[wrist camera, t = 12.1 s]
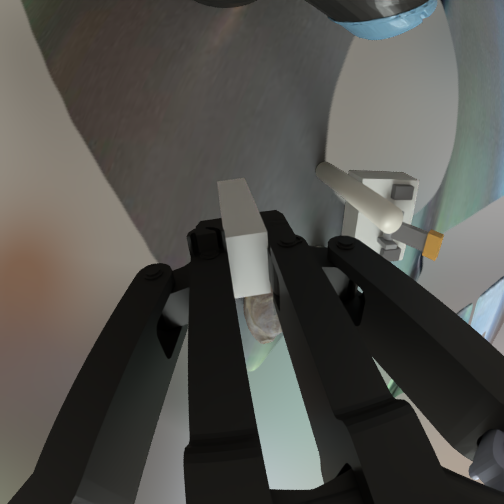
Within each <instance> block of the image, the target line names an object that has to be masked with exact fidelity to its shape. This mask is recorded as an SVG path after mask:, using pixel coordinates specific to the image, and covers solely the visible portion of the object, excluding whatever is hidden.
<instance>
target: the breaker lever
mask: <svg viewBox="0 0 504 504" xmlns="http://www.w3.org/2000/svg"><path fill="white" fill-rule="evenodd" d="M443 237H444V235H443V234H441V233H439V232H436V231H434V230H430V232H427V231H425V230H422V229H420V228H417V227H415V226H412V225H410V224H407V223H405V222H402V224H401V226H400V228H399V229H398V230H397V231H395V232H394V233H391V234H386V233H383V238H384V239H386V240H390V241H391V240H393V239H395V240H397V241H399V242H402V243H404V244H406V245H409V246H411V247H413V248H416V249H418V250H420V251H422V252H423V254H422V255H423V256H425V257H427V258H429V259H432V260H434V261H435V260H436V258H437V257H438V254H439V250H440V247H441V244H442V240H443Z"/></svg>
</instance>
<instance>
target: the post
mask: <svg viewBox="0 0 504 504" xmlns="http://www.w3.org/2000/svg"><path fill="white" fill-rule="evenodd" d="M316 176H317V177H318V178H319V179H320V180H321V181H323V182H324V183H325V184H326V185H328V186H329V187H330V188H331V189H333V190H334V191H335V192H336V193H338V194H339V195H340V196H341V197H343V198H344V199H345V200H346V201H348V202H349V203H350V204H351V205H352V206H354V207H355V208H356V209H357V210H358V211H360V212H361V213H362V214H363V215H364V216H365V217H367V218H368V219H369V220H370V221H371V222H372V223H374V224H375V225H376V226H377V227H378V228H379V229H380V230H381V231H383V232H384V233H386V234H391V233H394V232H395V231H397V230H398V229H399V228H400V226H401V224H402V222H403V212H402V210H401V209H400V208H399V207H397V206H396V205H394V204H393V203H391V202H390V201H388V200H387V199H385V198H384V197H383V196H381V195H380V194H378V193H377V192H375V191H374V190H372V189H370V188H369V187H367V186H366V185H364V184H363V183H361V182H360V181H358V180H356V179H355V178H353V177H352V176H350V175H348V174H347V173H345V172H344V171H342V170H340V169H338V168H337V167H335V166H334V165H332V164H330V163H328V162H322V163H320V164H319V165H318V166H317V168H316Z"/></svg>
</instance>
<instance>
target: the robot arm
mask: <svg viewBox="0 0 504 504" xmlns="http://www.w3.org/2000/svg"><path fill="white" fill-rule="evenodd" d="M194 1H196V2H198V3H201V4H204V5H207V6H212V7H220V8H230V7H238V6H243V5H247V4H250V3H252V2H254V1H257V0H194ZM305 1H306V2H308V3H310V4H311V5H313V6H314V7H316V8H317V9H318V10H320V11H321V12H323V13H324V14H326V15H327V16H328V18H329V19H330V20H331V21H333V22H335V23H337V24H340V25H341V26H343V27H344V28H345V29H347V30H348V31H350V32H351V33H352V34H354V35H355V36H357V37H359V38H365V39H368V40H381V39H386V38H390V37H394V36H396V35H399V34H402V33H404V32H406V31H409V30H410V29H412V28H414V27H416V26H417V25H419V24H420V23H422V19H423V18H426V17H429V16H430V15H431V14H432V13H433V12H434V10H435V8H436V6H437V0H305ZM217 184H218V193H219V201H220V209H221V217H222V218H219V219H212V220H205V221H200V222H199V224H198V225H197V226H196V229H193V230H192V231H190V232H189V233H188V235H187V241H188V246H189V251H190V255H191V262H190V263H189V264H187V265H185V266H184V267H181V268H179V269H176V270H173V271H172V269H171V267H170V266H169V265H167V264H162V263H157V264H151V265H148V266H146V267H145V268H143V269H141V270H140V271H139V272H138V273H137V275H136V276H135V278H134V279H133V281H132V283H131V284H130V286H129V287H128V289H127V290H126V292H125V294H124V295H123V297H122V299H121V300H120V302H119V303H118V305H117V307H116V308H115V310H114V312H113V313H112V315H111V316H110V318H109V320H108V322H107V323H106V325H105V327H104V328H103V330H102V332H101V334H100V335H99V337H98V339H97V341H96V342H95V344H94V346H93V348H92V349H91V352H90V353H89V355H88V357H87V358H86V360H85V362H84V364H83V366H82V368H81V370H80V372H79V373H78V375H77V378H76V379H75V381H74V383H73V385H72V387H71V389H70V391H69V393H68V395H67V397H66V399H65V401H64V403H63V405H62V407H61V409H60V411H59V414H58V416H57V418H56V420H55V422H54V425H53V427H52V429H51V431H50V433H49V436H48V438H47V440H46V443H45V445H44V447H43V450H42V452H41V455H40V457H39V460H38V462H37V465H36V467H35V470H34V472H33V474H32V475H31V476H30V477H29V479H28V480H27V481H26V482H25V483H24V485H23V486H22V487H21V488H20V489H19V491H18V492H17V493H16V494H15V495H14V496H13V498H12V499H11V500H10V501H9V502H8V504H134V503H135V499H136V495H137V492H138V487H139V484H140V481H141V477H142V473H143V470H144V466H145V463H146V459H147V456H148V452H149V449H150V446H151V442H152V439H153V435H154V432H155V429H156V425H157V422H158V419H159V415H160V412H161V409H162V406H163V403H164V400H165V396H166V393H167V390H168V387H169V384H170V381H171V378H172V374H173V371H174V368H175V365H176V362H177V359H178V356H179V353H180V350H181V347H182V344H183V341H184V338H185V335H186V332H187V329H188V395H189V397H188V400H189V431H190V441H189V444H188V445H187V447H185V451H184V480H185V493H186V504H504V356H503V355H502V354H501V353H500V352H499V351H497V349H496V348H494V347H493V346H492V345H491V344H490V343H489V342H488V341H487V340H486V339H485V338H483V337H482V336H481V335H480V334H479V333H478V332H477V331H476V330H474V329H473V328H472V327H471V326H470V325H469V324H467V323H466V322H465V321H464V320H463V319H462V318H460V317H459V316H458V315H457V314H456V313H454V312H453V311H452V310H451V309H449V308H448V307H447V306H446V305H444V304H443V303H442V302H441V301H440V300H438V299H437V298H436V297H435V296H434V295H432V294H431V293H429V292H428V291H427V290H426V289H425V288H423V287H422V286H421V285H419V284H418V283H417V282H416V281H414V280H413V279H412V278H410V277H409V276H408V275H407V274H405V273H404V272H403V271H401V270H400V269H399V268H397V267H396V266H395V265H393V264H392V263H391V262H389V261H388V260H386V259H385V258H384V257H382V256H381V255H380V254H378V253H377V252H375V251H374V250H373V249H371V248H370V247H368V246H367V245H366V244H364V243H363V242H361V241H360V240H358V239H356V238H354V237H350V236H346V235H345V236H344V235H342V236H336V237H334V238H331V239H330V240H329V241H328V248H326V247H312V246H309V245H308V244H307V242H306V240H305V239H304V238H302V237H300V236H298V235H295V234H294V232H293V230H292V229H291V227H290V225H289V224H288V222H287V220H286V218H285V217H284V215H283V214H282V213H280V212H279V211H277V210H272V211H264V212H259V211H258V209H257V206H256V204H255V201H254V199H253V197H252V194H251V192H250V190H249V187H248V185H247V183H246V180H245V178H240V179H232V180H224V181H217ZM270 284H271V285H270ZM358 286H359V287H360V288H361V289H362V291H363V293H361V292H359V291H358V290H357V288H358ZM271 287H272V290H273V309H274V315H278V319H279V322H280V325H281V328H282V332H283V335H284V338H285V341H286V344H287V348H288V351H289V355H290V358H291V361H292V364H293V368H294V371H295V374H296V378H297V381H298V384H299V388H300V391H301V394H302V398H303V401H304V404H305V407H306V411H307V414H308V418H309V421H310V424H311V428H312V431H313V434H314V437H315V441H316V444H317V447H318V451H319V455H320V461H321V472H322V477H323V481H324V484H323V485H321V486H319V487H317V488H315V489H311V490H275V489H269V484H268V479H267V475H266V469H265V465H264V460H263V455H262V449H261V444H260V439H259V434H258V429H257V424H256V419H255V414H254V408H253V403H252V397H251V392H250V387H249V380H248V375H247V369H246V363H245V357H244V352H243V346H242V340H241V334H240V328H239V322H238V316H237V310H236V303H235V298H241V297H248V296H254V295H261V294H267V293H271ZM372 357H373V358H374V359H375V360H376V361H377V362H378V364H379V365H380V366H381V367H382V368H383V369H384V370H385V371H386V373H388V375H389V376H390V377H391V378H392V379H393V380H394V382H395V383H396V384H397V385H398V386H399V387H400V388H401V389H402V391H403V392H404V393H405V394H406V395H407V396H408V397H409V399H410V400H411V401H412V402H413V403H414V404H415V405H416V407H417V408H418V409H419V410H420V411H421V412H422V413H423V415H424V416H425V417H426V418H427V419H428V420H429V421H430V423H431V424H432V425H433V426H434V427H435V428H436V430H437V431H438V432H439V433H440V434H441V435H442V436H443V438H445V440H446V441H447V442H448V443H449V444H450V445H451V446H452V447H453V448H454V449H456V450H457V451H458V452H459V453H461V454H462V455H463V456H465V457H466V458H468V459H470V460H471V461H473V463H472V464H471V465H470V467H469V475H470V477H471V478H472V479H474V480H476V479H480V480H481V481H482V482H483V483H484V485H483V484H481V483H478V482H476V481H474V480H471V479H469V478H467V477H464V476H462V475H460V474H457V473H455V472H453V471H451V470H449V469H446V468H444V467H442V466H441V465H440V462H439V460H438V458H437V456H436V454H435V452H434V449H433V447H432V445H431V443H430V441H429V439H428V437H427V435H426V433H425V431H424V429H423V427H422V425H421V423H420V421H419V419H418V417H417V415H416V413H415V411H414V409H413V408H412V406H411V405H410V404H409V403H408V402H407V401H405V400H401V399H395V398H394V397H393V396H392V395H391V393H390V391H389V389H388V387H387V385H386V383H385V381H384V379H383V377H382V376H381V373H380V372H379V370H378V368H377V366H376V364H375V362H374V360H373V358H372Z"/></svg>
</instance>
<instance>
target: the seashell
mask: <svg viewBox="0 0 504 504" xmlns="http://www.w3.org/2000/svg"><path fill="white" fill-rule="evenodd" d="M270 285H271V284H270ZM244 315H245V319H246V322H247V325H248V328H249V330H250V331H251V333H252V335H253V336H254V337H255V338H256V339H257V340H258V341H259V342H260V343H261V344H265V343H269V342H272V341H274V338H275V337H276V335H278V334H280V333H281V332H282V328H281V325H280V322H279V319H278V315H274V309H273V290H272V287H271V293H267V294H261V295H254V296H248V297H244Z"/></svg>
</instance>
